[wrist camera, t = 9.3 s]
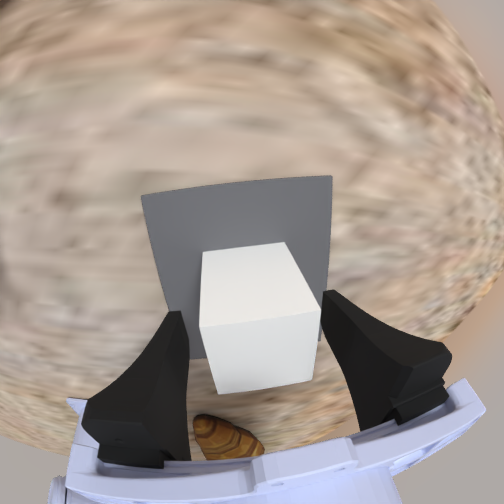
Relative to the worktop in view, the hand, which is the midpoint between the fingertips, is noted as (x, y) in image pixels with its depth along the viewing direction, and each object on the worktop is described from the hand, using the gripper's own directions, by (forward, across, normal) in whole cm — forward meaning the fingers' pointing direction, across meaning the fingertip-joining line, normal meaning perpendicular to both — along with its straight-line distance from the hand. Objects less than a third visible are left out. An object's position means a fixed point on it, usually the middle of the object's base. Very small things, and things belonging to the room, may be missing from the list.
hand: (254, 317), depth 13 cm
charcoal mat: (+3, 0, 0) cm, 3 cm away
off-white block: (+3, 0, 0) cm, 3 cm away
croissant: (+4, +4, +21) cm, 21 cm away
